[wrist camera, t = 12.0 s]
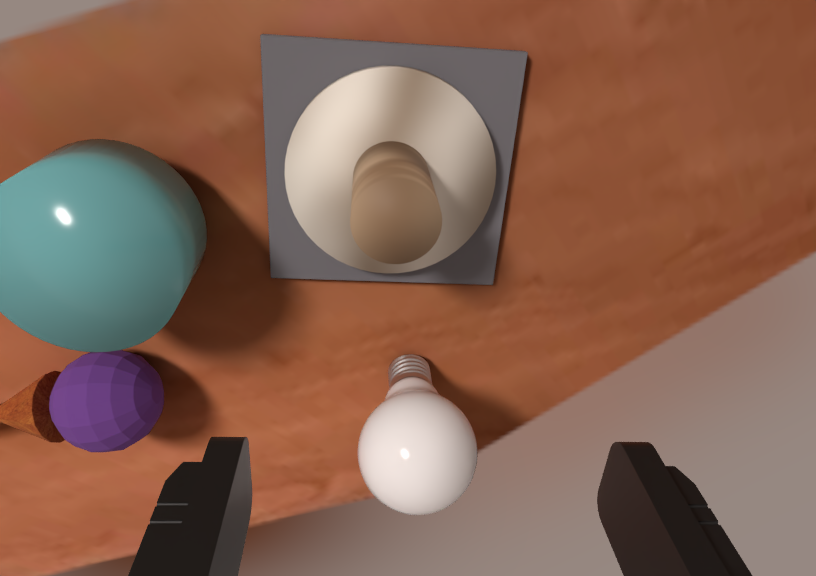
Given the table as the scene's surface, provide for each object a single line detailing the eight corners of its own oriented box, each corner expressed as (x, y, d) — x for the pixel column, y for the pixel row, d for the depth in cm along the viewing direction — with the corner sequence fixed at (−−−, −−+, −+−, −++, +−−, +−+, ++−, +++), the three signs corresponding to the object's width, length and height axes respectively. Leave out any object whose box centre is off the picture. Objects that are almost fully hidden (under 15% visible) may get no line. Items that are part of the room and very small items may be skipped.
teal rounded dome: (207, 133, 32) (169, 175, 25) (221, 286, 36) (191, 354, 30) (26, 124, 31) (-60, 165, 25) (61, 281, 35) (-4, 350, 29)
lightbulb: (357, 325, 38) (353, 451, 28) (458, 321, 38) (490, 444, 28) (361, 406, 41) (359, 545, 31) (455, 402, 41) (483, 538, 31)
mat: (524, 51, 31) (527, 52, 30) (491, 280, 37) (492, 284, 36) (262, 34, 29) (260, 35, 29) (272, 273, 36) (270, 277, 35)
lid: (506, 72, 30) (541, 100, 24) (479, 268, 36) (502, 333, 29) (283, 58, 29) (261, 83, 23) (289, 262, 35) (272, 327, 28)
